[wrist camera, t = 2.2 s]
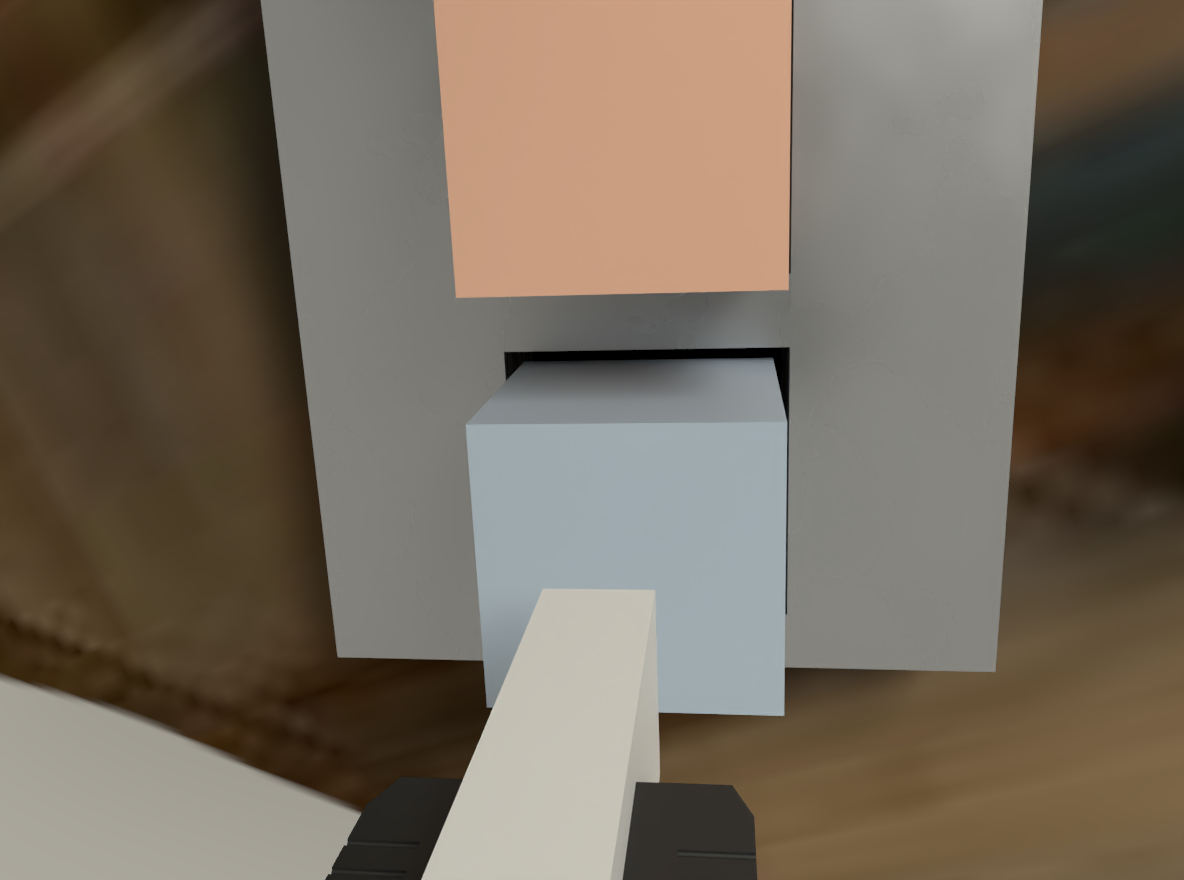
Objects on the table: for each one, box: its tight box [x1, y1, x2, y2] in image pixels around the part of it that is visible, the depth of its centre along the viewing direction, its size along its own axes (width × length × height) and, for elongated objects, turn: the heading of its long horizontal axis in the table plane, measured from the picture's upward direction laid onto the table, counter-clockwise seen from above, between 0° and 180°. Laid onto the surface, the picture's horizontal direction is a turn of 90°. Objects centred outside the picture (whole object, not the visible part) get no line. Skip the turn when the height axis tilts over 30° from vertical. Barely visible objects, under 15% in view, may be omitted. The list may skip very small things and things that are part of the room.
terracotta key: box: [433, 0, 792, 298], centre depth 17 cm, size 5×5×5 cm
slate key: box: [466, 358, 787, 716], centre depth 19 cm, size 5×5×5 cm
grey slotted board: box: [261, 0, 1043, 672], centre depth 21 cm, size 22×14×3 cm, turn 3°
